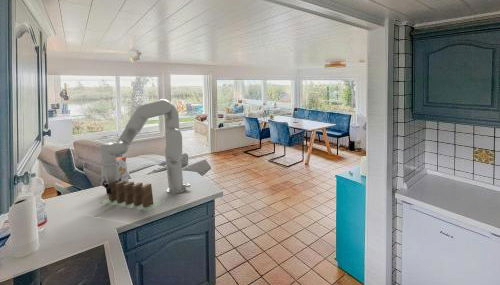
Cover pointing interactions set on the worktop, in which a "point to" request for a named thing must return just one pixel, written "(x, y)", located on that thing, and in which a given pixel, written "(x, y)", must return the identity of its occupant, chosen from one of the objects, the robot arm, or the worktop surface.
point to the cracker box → (122, 168)
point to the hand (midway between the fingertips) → (113, 191)
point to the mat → (132, 204)
